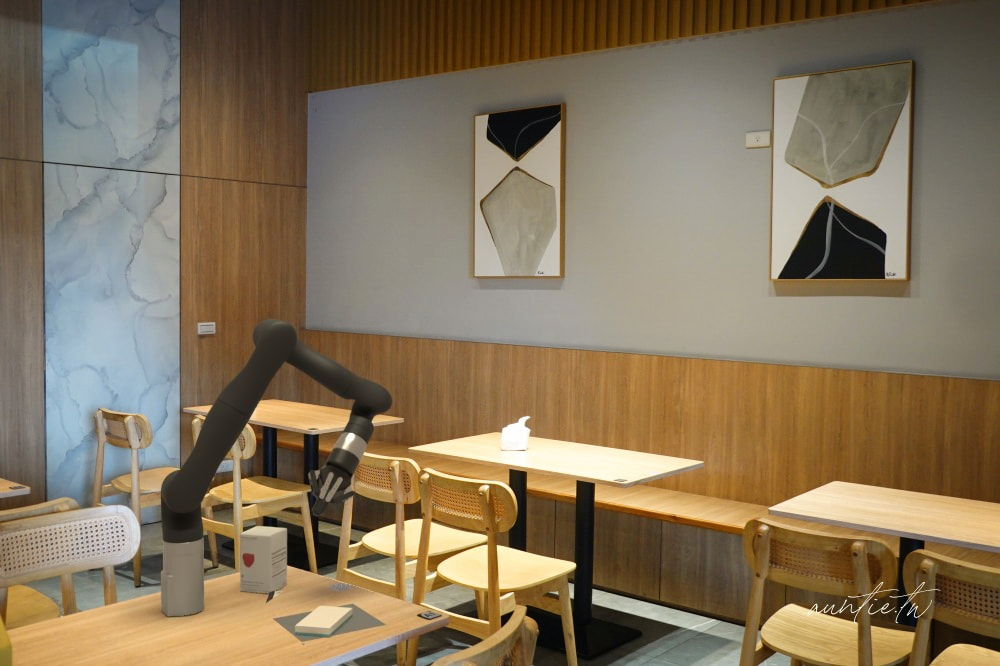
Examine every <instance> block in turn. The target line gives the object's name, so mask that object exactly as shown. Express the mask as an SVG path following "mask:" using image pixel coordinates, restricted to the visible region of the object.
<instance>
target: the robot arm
mask: <svg viewBox="0 0 1000 666" xmlns="http://www.w3.org/2000/svg"><path fill="white" fill-rule="evenodd" d="M252 342H253V345H254V347H255V348H254V350H253V352H252V354H251V355H250V358H249V359H248V361H247V362H246V364H245V366H243V368H242V369H241V370H240V371H239V372H238V374H236V375H235V376H234V377H233V378H232V380H230V382H228V384H227V385H226V386H225V387H224V388H223V389H222V390H221V391H220V393H219V394H218V396H217V397H216V399H215V401H214V402H213V404H212V405H211V407H210V409H209V411H208V412H207V414H206V416H205V418H204V419H203V422H202V425H201V427H200V431H199V433H198V436H197V439H196V442H195V444H194V446H193V449H192V450H191V453H190V454H189V455H188V458H186V459H185V460H186V461H184V463H183V465H182V466H181V467H180V469H177V470H174V471H172V472H170V473H169V474H167V475H166V477H165V478H164V479H163V481H162V483H161V487H160V515H161V517H160V518H161V529H162V530H161V531H162V532H161V533H162V570H161V571H160V602H161V603H160V605H161V606H160V607H161V611H162V612H163V613H164V614H165V616H166V617H183V616H184V615H185V616H191V615H195V614H197V612H198V613H200V611H201V612H202V611H204V609H205V557H204V556H205V555H204V554H205V553H204V550H205V549H204V547H205V545H204V544H205V543H204V524H203V516H202V503H203V501H204V499H205V497H206V495H207V493H208V490H209V488H210V486H211V484H212V482H213V480H214V477H215V475H216V474H217V471H218V469H219V468H220V466H221V464H222V463H223V461H224V460H225V458H226V456H228V454H229V453H230V451H231V450H232V448H233V447H234V446H235V444H236V442H237V440H238V438H239V437H240V436H241V434H242V432H243V431H244V429H246V426H247V424H248V423H249V421H250V420H251V418H252V416H253V415H254V412H255V411H256V408H257V407H258V406H259V404H260V402H261V400H262V398H263V397H264V395H265V393H266V391H267V389H268V387H269V385H270V383H271V382H272V380H273V378H275V376H276V374H277V373H278V372H279V371H280V369H281V368H282V366H283V365H284V364H285V363H286V364H288V365H290V366H292V367H294V368H296V369H297V370H299V371H300V372H302V373H304V374H305V375H306V376H307V377H309V378H311V380H314V381H315V382H317V383H318V384H320V385H321V386H323V387H324V388H326V389H327V390H328V391H330V392H332V393H333V394H335V395H337V396H338V397H340V398H341V399H343V400H346V401H348V400H349V401H350V400H351V401H352V400H354V401H353V403H352V406H351V411H350V413H349V419H348V422H347V423H346V425H345V427H344V428H343V431H342V433H341V435H340V436H339V437H338V438H337V441H336V442H335V444H334V445H333V446H332V447H333V448H332V450H331V452H330V453H329V455H328V457H327V459H326V461H325V463H324V465H323V466H321V467H320V469H318V470H314V469H311V470H309V472H308V474H307V476H308V481H309V487H310V490H311V495H312V496H313V497H315V499H316V500H315V503H314V505H312V506H313V507H311V508H312V509H311V512H312V515H313V516H315V517H316V518H318V517H319V516H321V517H322V516H323V515H324V513H325V511H326V508H327V507H328V505H330V506H332V507H334V506H337V505H339V504H341V503H344V502H345V501H348V500H351V499H352V498H353V497H354V496H355V495H356V491H354V490H353V488H352V486H351V485H352V479H353V477H354V475H355V472H356V471H357V468H358V466H359V464H360V463H361V460H362V458H363V456H364V454H365V451H366V449H367V446H368V445H369V443H370V440H371V438H372V436H373V435H374V434H373V433H374V431H375V426H374V424H373V420H374V418H375V417H376V416H379V415H382V414H384V413H387V412H389V410H390V409H391V407H392V405H393V397H392V395H391V393H390V391H388V389H387V388H385V387H384V386H383V385H381V384H379V383H378V382H375V381H372V380H370V379H367V378H365V377H361V376H359V375H357V374H356V373H354V372H353V371H351V370H350V369H349V368H347V367H345V366H344V365H342V364H341V363H338V362H337V361H336V360H333V359H332V358H330V357H328V356H326V355H324V354H323V353H320V352H318V351H317V350H315V349H313V348H312V347H310V346H309V345H306V344H305V343H304V342H303V341H301V340H300V339H299V338H298V334H297V331H296V328H295V327H294V326H293V324H291V323H289V322H288V321H285V320H281V319H276V318H269V319H264V320H262V321H260V322H259V323H257V325H256V326H255V327H254V328H253V331H252ZM318 478H319V480H320V485H321V488H319V486H318ZM319 490H320V491H319ZM327 491H329V492H328V493H327ZM342 491H344V493H343V494H341V495H340V496H337V497H334V495H335V494H338V493H340V492H342ZM326 494H327V495H326ZM325 496H326V497H325ZM333 497H334V498H333ZM190 614H191V615H190Z"/></svg>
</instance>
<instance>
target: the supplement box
mask: <svg viewBox="0 0 1000 666" xmlns="http://www.w3.org/2000/svg"><path fill="white" fill-rule="evenodd" d="M239 562H240V563H239V568H240V570H239V572H240V573H239V575H240V577H239V578H240V579H239V584H240V587H239V588H240V590H239V591H240V592H245V591H247V593H256V592H257V593H258V594H265V593H267V594H268V595H269V592H272V591H276V590H277V591H279V590H280V589H282V588H283V587H285V586H287V585H288V528H286V527H275V526H262V525H256V526H254V527H252V528H249V529H247V530H245V531H243V532H241V533H240V534H239ZM257 593H256V594H257Z"/></svg>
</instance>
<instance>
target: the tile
mask: <svg viewBox="0 0 1000 666" xmlns="http://www.w3.org/2000/svg"><path fill="white" fill-rule="evenodd" d="M312 611H313V612H311V613H310V614H309V615H308V616H306V617H305V618H304V619H303V620H301V621H300V622H299V623H298V624H296V625H295V635H306V636H320V637H324V638H331V637H332V636H331V635H333V634H334V633H335V632H336V631H337V630H338V629H339V628H340V627H341V626H342V625H344V624H345V623H346V622H347V621H348V620H349V619H350V618H351V617H352V608H346V607H337V606H330V605H329V606H328V605H318V607H316V608H315V609H314V610H312Z"/></svg>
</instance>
